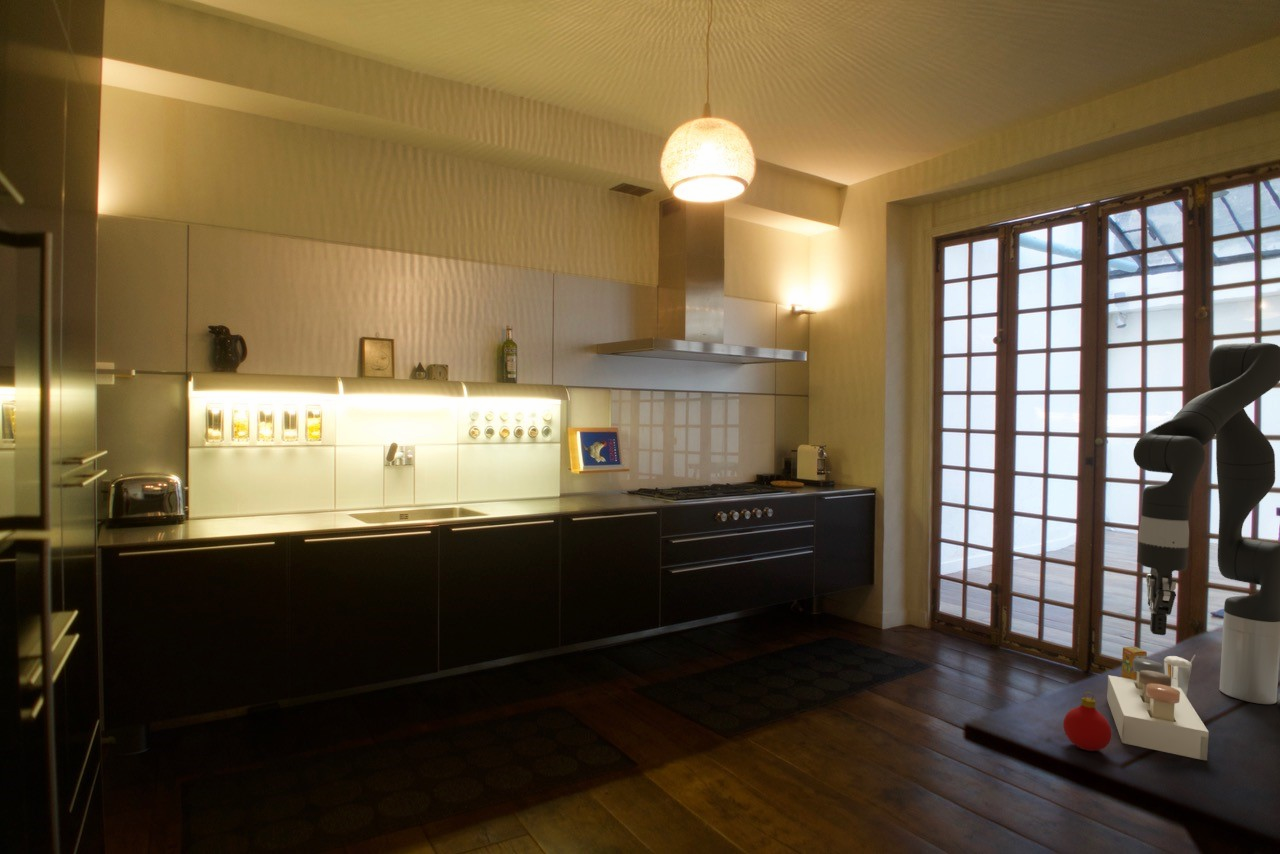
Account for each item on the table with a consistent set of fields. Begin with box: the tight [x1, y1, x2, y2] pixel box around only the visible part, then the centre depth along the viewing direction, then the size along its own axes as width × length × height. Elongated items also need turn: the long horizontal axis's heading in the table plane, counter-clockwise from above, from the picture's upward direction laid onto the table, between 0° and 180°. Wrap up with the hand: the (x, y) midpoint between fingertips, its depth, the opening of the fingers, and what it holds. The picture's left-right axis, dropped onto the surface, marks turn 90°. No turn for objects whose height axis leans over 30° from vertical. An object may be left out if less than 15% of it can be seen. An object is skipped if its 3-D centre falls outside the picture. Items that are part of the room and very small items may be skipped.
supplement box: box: [1121, 646, 1148, 680], centre depth 147 cm, size 3×3×10 cm
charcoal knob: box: [1133, 658, 1164, 690], centre depth 138 cm, size 5×5×6 cm
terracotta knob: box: [1146, 684, 1180, 722], centre depth 125 cm, size 5×5×6 cm
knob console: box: [1106, 674, 1210, 762], centre depth 132 cm, size 22×12×5 cm, turn 152°
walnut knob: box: [1139, 670, 1171, 703], centre depth 132 cm, size 5×5×6 cm
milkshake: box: [1163, 654, 1196, 697], centre depth 145 cm, size 4×5×10 cm
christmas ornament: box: [1063, 691, 1112, 752], centre depth 122 cm, size 7×7×10 cm
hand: (1157, 633), depth 131 cm, fingers closed
